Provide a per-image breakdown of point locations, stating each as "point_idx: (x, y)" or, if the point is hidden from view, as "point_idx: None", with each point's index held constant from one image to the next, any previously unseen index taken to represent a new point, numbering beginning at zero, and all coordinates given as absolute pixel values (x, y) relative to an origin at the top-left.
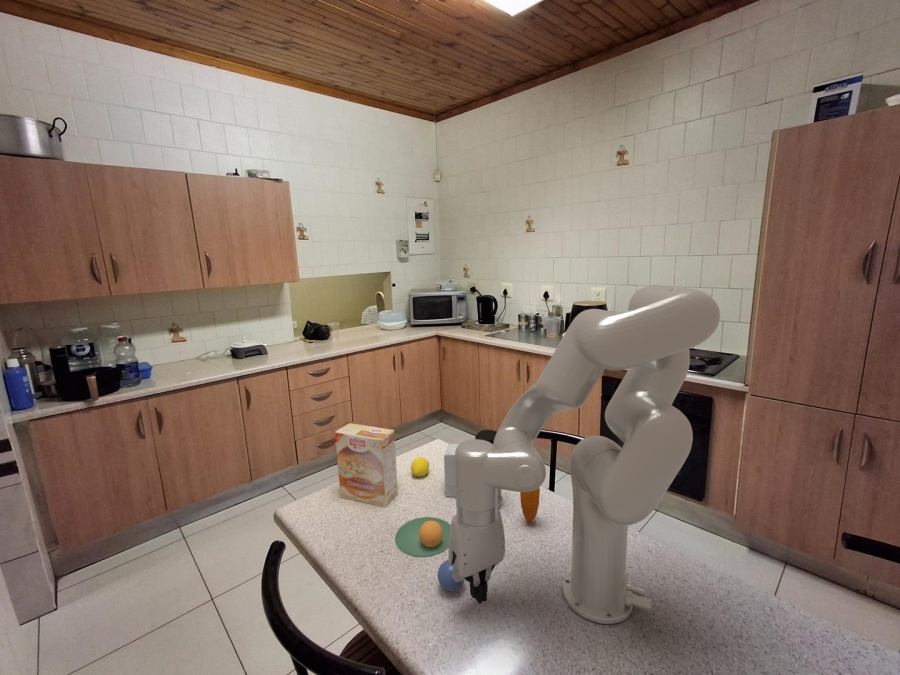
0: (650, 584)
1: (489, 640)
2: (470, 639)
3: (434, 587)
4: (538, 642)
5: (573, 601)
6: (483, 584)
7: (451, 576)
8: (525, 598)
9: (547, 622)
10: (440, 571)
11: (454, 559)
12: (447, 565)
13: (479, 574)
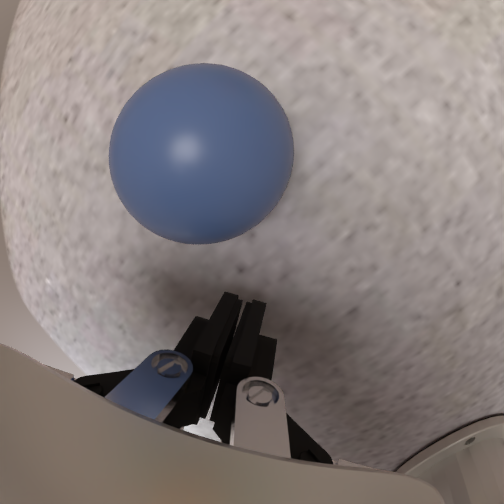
0: None
1: None
2: (133, 359)
3: None
4: None
5: (410, 475)
6: (212, 420)
7: (133, 215)
8: (378, 400)
9: (332, 458)
10: (113, 128)
11: (8, 352)
12: (131, 149)
13: (220, 411)
